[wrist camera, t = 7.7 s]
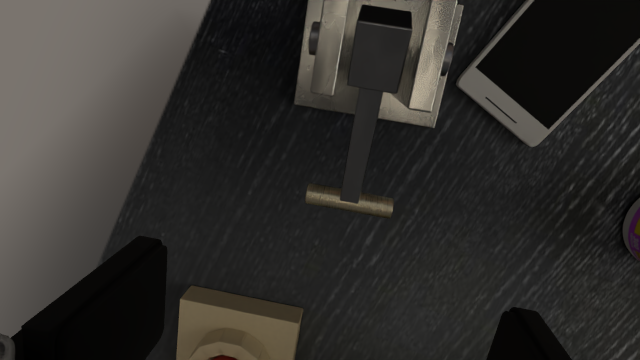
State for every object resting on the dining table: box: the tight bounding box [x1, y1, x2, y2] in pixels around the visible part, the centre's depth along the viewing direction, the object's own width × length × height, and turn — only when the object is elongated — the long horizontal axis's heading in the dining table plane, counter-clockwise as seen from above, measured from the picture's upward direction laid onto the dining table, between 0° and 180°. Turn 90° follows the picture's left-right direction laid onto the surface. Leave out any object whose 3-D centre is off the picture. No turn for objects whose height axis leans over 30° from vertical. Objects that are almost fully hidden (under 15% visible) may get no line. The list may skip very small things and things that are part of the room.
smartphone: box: [456, 0, 640, 147], centre depth 25 cm, size 7×16×1 cm, turn 142°
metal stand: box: [294, 0, 464, 128], centre depth 21 cm, size 8×10×13 cm
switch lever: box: [305, 4, 413, 219], centre depth 19 cm, size 11×5×2 cm, turn 171°
